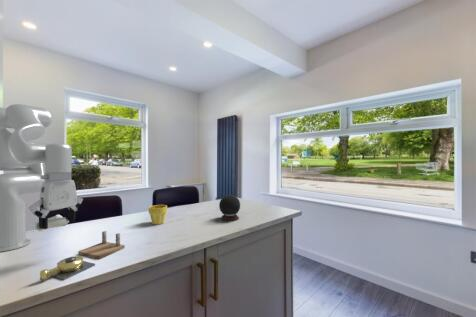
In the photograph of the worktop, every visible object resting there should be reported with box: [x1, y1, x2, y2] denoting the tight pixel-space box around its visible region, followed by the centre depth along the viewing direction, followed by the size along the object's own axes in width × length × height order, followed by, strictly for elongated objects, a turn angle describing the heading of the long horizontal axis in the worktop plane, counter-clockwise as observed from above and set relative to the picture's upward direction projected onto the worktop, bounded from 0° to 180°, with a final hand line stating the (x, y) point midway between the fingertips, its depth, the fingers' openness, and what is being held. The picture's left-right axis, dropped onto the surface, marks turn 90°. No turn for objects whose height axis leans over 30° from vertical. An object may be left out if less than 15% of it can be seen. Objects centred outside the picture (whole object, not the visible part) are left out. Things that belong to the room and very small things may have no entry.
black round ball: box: [218, 194, 241, 222], centre depth 137 cm, size 13×13×15 cm
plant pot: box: [148, 204, 168, 226], centre depth 128 cm, size 10×10×10 cm
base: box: [51, 260, 96, 281], centre depth 74 cm, size 10×10×1 cm
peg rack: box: [77, 230, 126, 260], centre depth 89 cm, size 12×11×6 cm
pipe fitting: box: [34, 214, 70, 232], centre depth 81 cm, size 8×4×7 cm
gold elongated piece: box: [39, 255, 84, 281], centre depth 72 cm, size 7×12×3 cm, turn 159°
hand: (58, 224), depth 80 cm, fingers closed on pipe fitting, 8 cm apart
